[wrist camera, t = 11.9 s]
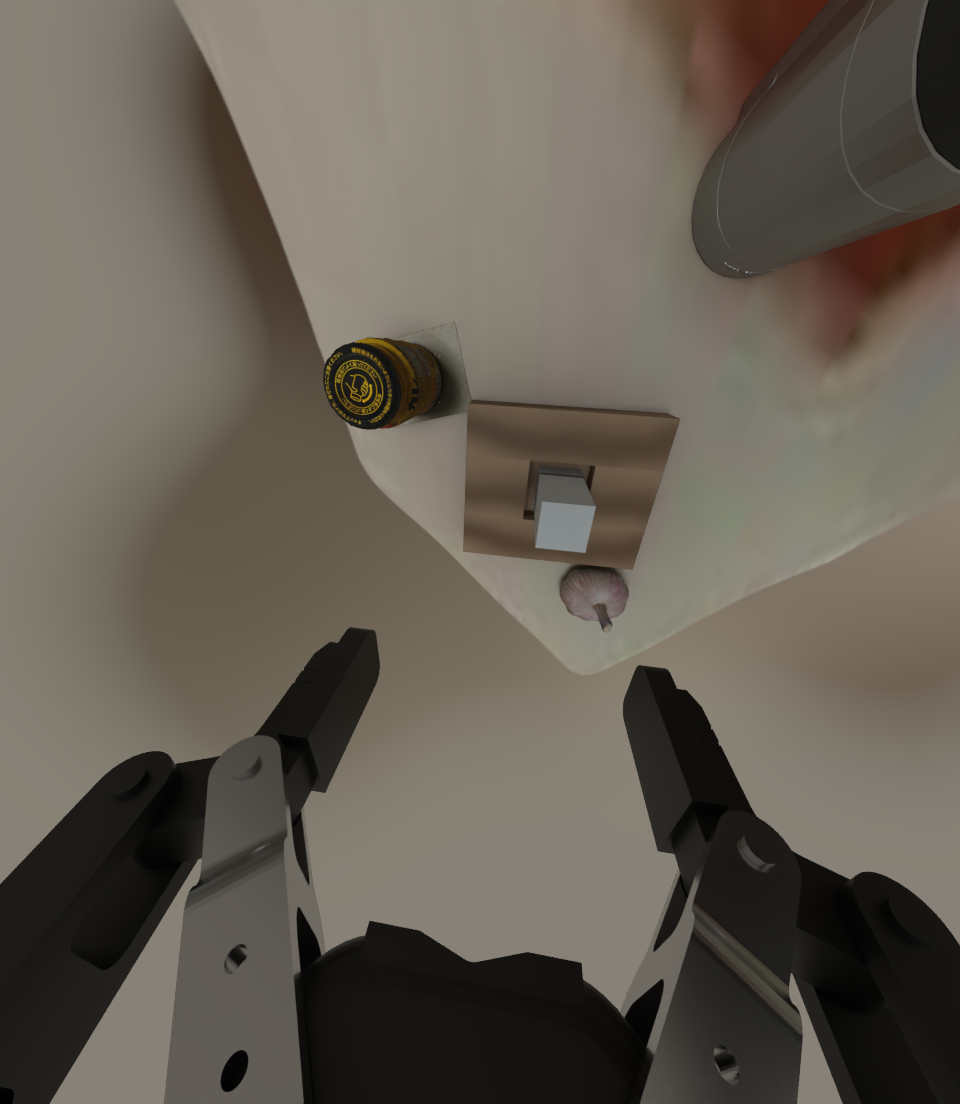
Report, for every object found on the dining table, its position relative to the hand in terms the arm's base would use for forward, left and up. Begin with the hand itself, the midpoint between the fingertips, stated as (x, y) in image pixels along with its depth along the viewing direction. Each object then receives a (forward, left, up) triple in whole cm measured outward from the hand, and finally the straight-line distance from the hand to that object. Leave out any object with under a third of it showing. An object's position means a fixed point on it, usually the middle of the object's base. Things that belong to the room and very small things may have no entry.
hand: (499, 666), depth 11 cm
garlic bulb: (+15, +10, -28) cm, 34 cm away
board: (+3, +4, -28) cm, 29 cm away
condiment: (-6, -10, -28) cm, 31 cm away
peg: (+3, +4, -28) cm, 28 cm away
